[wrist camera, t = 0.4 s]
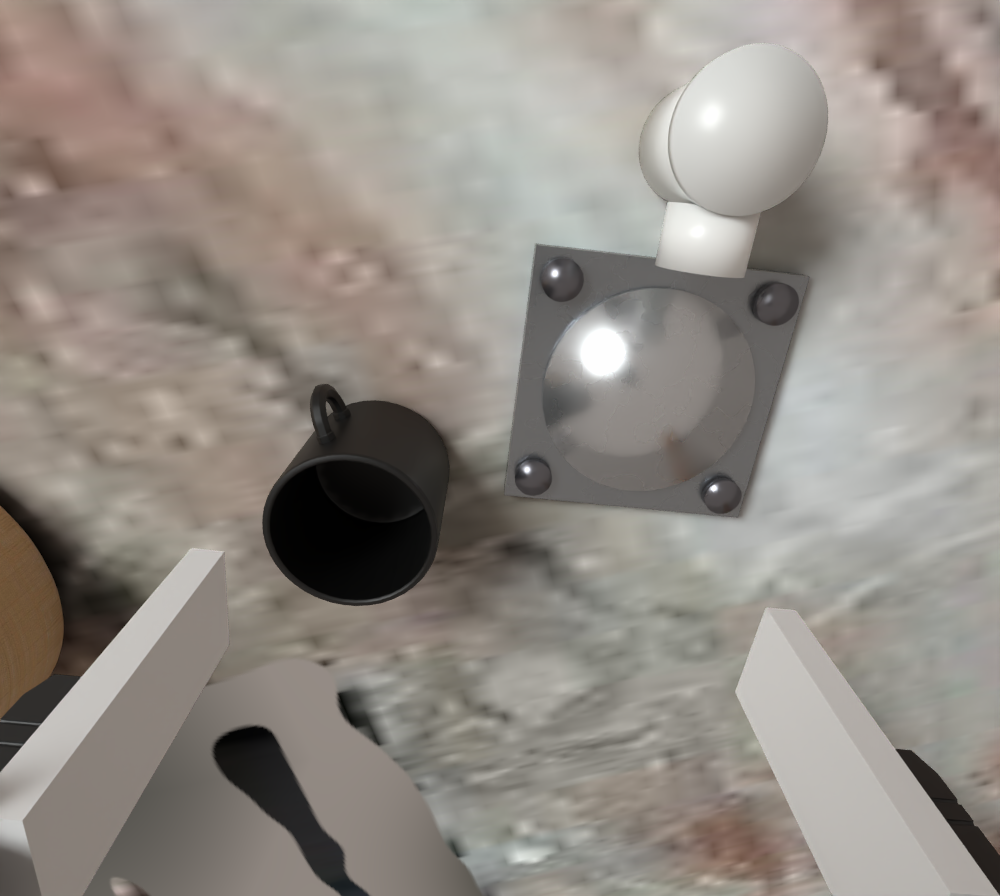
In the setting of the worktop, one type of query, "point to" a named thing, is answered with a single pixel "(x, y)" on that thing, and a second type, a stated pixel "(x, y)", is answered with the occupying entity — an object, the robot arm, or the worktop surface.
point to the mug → (359, 502)
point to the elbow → (731, 153)
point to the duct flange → (646, 381)
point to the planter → (25, 615)
